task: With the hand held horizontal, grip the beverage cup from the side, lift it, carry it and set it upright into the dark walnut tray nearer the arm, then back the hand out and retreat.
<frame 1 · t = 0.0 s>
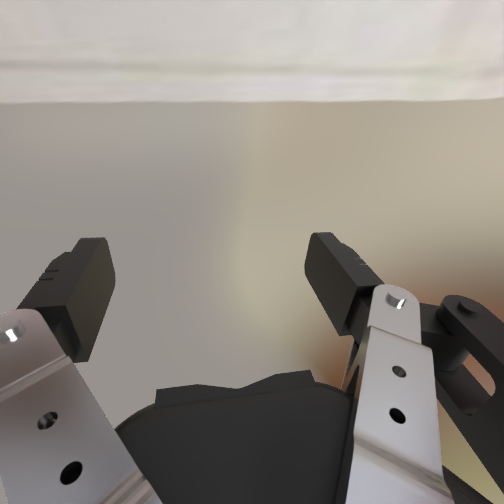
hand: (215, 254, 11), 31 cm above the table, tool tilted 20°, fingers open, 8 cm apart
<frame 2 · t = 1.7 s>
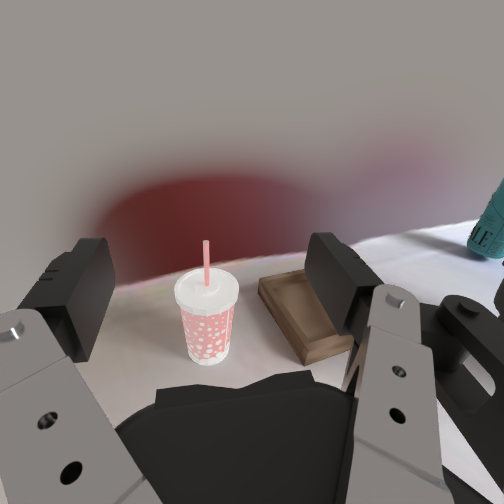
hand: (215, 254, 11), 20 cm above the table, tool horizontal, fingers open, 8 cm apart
walnut tray: (319, 312, 37), on the table
beverage cup: (208, 348, 31), on the table
beverage bottle: (479, 257, 53), on the table
sundae: (491, 336, 36), on the table
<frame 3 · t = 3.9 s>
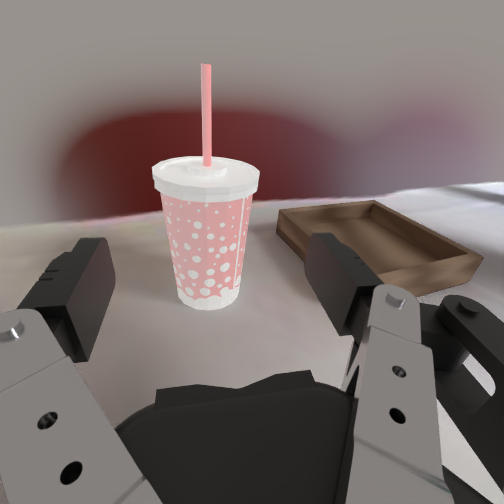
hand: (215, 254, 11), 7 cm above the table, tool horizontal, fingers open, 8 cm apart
walnut tray: (362, 254, 26), on the table
beverage cup: (208, 290, 21), on the table
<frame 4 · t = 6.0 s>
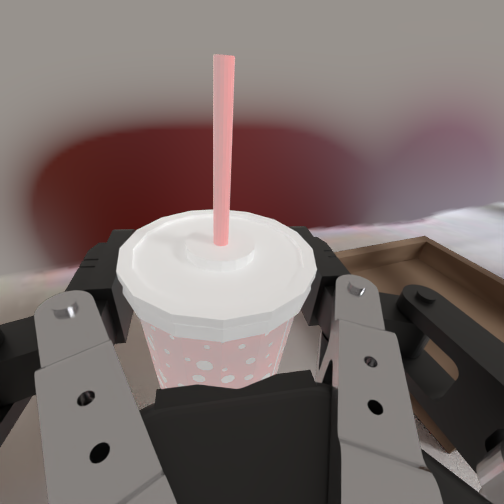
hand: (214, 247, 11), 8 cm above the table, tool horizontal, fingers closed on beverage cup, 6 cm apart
walnut tray: (424, 321, 19), on the table
beverage cup: (217, 404, 14), on the table, touching gripper
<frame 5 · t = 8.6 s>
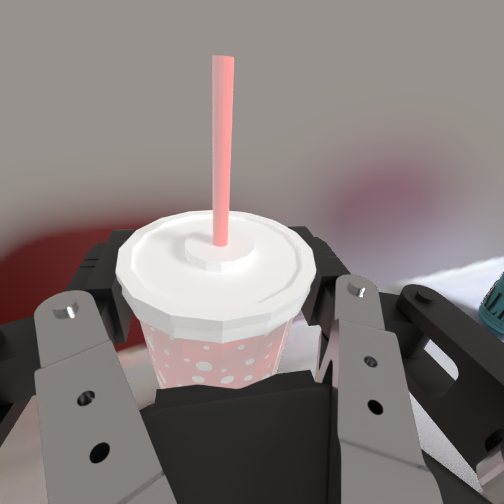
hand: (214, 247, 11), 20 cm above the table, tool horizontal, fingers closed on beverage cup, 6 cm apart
beverage cup: (217, 404, 14), point 12 cm above the table, touching gripper
beverage bottle: (497, 330, 36), on the table
when the fingers open (9 cm above the table, at t = 11.2 s): beverage cup drops 1 cm, resting on walnut tray.
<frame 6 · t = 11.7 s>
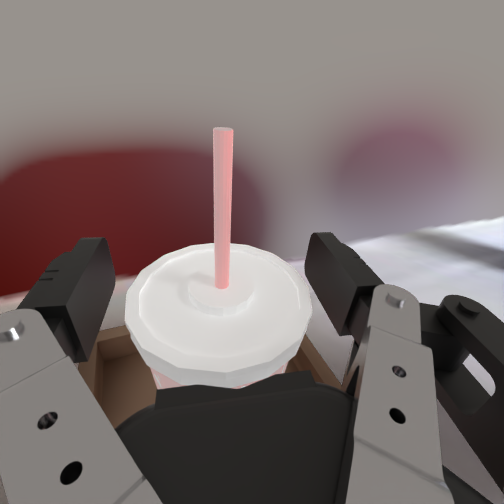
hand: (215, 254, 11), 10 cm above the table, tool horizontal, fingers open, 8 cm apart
walnut tray: (217, 425, 15), on the table
beverage cup: (220, 422, 14), point 1 cm above the table, touching walnut tray
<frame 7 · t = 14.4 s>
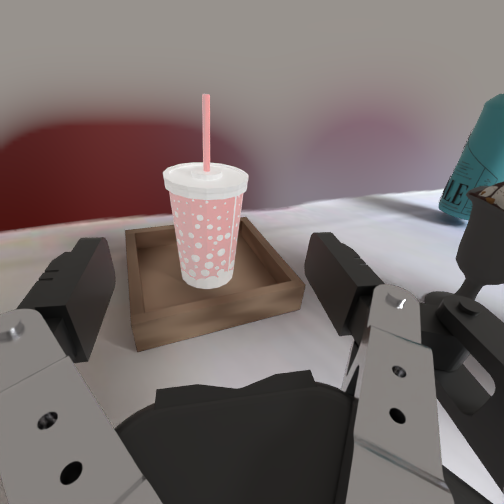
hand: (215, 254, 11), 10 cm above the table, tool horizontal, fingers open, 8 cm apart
walnut tray: (206, 278, 25), on the table
beverage cup: (207, 274, 25), point 1 cm above the table, touching walnut tray
beverage bottle: (454, 222, 41), on the table
sundae: (454, 313, 24), on the table
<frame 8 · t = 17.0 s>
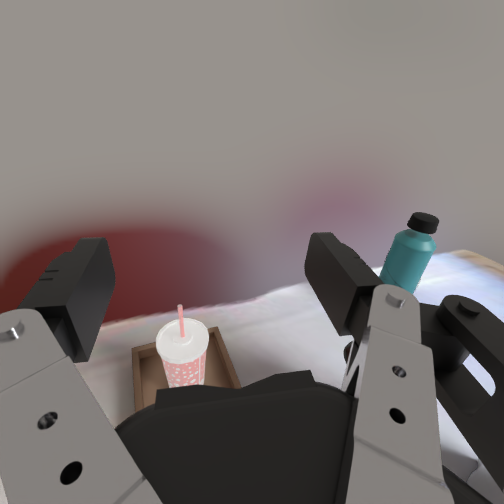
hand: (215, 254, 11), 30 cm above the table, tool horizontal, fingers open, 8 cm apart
walnut tray: (186, 384, 38), on the table
beverage cup: (186, 382, 37), point 1 cm above the table, touching walnut tray
beverage bottle: (383, 309, 54), on the table
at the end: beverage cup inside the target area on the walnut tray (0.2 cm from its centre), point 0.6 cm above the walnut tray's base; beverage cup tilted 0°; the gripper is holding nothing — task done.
